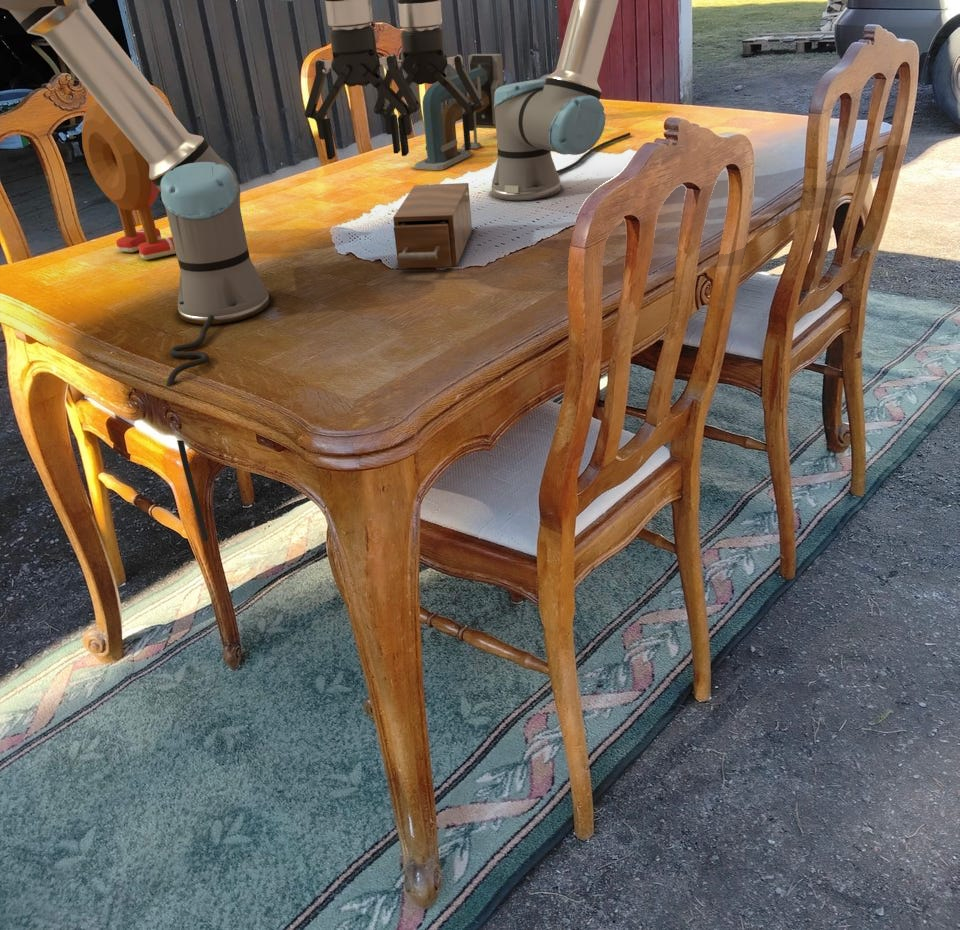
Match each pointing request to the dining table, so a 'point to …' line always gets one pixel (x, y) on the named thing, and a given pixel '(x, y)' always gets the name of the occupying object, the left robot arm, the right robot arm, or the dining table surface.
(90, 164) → the toy
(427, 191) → the cabinet
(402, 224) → the drawer
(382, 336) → the dining table surface
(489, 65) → the clamp
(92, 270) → the dining table surface
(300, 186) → the dining table surface
